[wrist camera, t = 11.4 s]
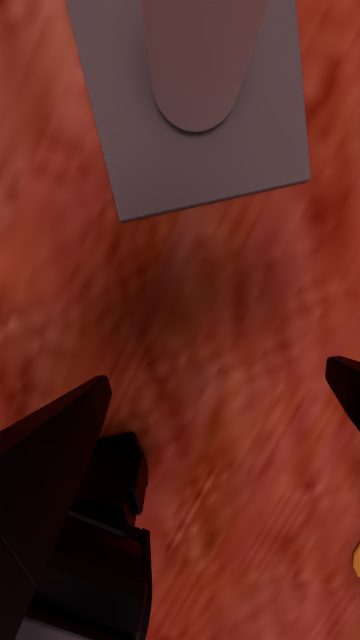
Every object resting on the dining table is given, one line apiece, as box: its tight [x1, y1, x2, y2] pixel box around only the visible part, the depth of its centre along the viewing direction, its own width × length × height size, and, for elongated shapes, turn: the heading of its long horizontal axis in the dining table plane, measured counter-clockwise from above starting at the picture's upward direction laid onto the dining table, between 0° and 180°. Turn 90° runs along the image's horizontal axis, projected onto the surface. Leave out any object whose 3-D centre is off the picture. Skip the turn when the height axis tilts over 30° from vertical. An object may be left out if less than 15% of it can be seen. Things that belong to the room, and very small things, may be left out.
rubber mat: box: [66, 0, 311, 223], centre depth 16 cm, size 16×16×1 cm
